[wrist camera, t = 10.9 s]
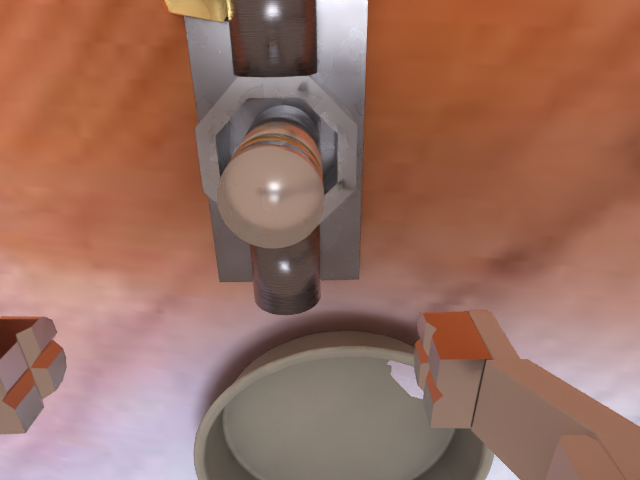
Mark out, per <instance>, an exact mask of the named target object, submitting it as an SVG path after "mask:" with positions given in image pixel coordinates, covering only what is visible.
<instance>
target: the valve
mask: <svg viewBox="0 0 640 480" xmlns="http://www.w3.org/2000/svg"><path fill="white" fill-rule="evenodd" d="M324 201H325V199H324V186H323V174H322V161H321V149H320V137H319V132H318V129H317V127H316V125H315V123H314V122H313V120H312V119H311V118H310V117H309V116H308V115H307V114H306V113H305V112H303V111H302V110H300V109H298V108H295V107H292V106H287V105H279V106H274V107H271V108H268V109H266V110H265V111H263V112H262V113H260V114H259V115H258V116H257V118H256V119H255V120H254V122H253V123H252V125H251V127H250V128H249V130H248V132H247V133H246V135H245V137H244V138H243V140H242V142H241V143H240V145H239V147H238V148H237V150H236V152H235V153H234V155H233V157H232V158H231V160H230V162H229V163H228V165H227V167H226V168H225V170H224V172H223V174H222V175H221V178H220V180H219V183H218V187H217V204H218V209H219V212H220V215H221V217H222V219H223V221H224V222H225V224H226V225H227V227H228V228H229V229H230V230H231V231H232V232H233V233H234V234H235V235H236V236H238V237H239V238H240V239H242V240H244V241H245V242H247V243H250V244H252V245H255V246H258V247H263V248H283V247H288V246H291V245H294V244H296V243H298V242H300V241H301V240H303V239H305V238H306V237H307V236H308V235H310V233H311V232H312V231H313V230H314V229H315V228H316V226H317V225H318V223H319V221H320V219H321V217H322V214H323V210H324Z"/></svg>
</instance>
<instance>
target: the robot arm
mask: <svg viewBox="0 0 640 480" xmlns="http://www.w3.org/2000/svg"><path fill="white" fill-rule="evenodd" d="M417 330H418V333H419V337H420V339H419V340H418V341H417V342H416V343H415V348H414V369H415V375H416V380H417V383H418V386H419V387H420V388H421V389H422V390H424V396H423V405H424V408H425V412H426V415H427V418H428V422H429V425H430V428H472V430H471V431H472V432H473V433H474V434H475V435H476V436H477V437H478V438H479V439H480V440H481V441H482V442H483V443H484V444H485V445H486V446H487V447H488V448H489V449H490V450H491V451H492V452H493V453H494V454H495V455H496V456H497V457H498V458H499V459H500V460H501V461H502V462H503V463H504V464H505V465H506V466H507V467H508V468H509V469H510V470H511V471H512V472H513V473H514V474H515V475H516V476H517V477H518V478H519V479H520V480H640V427H639V426H638V425H636V424H634V423H633V422H631V421H629V420H628V419H626V418H624V417H623V416H621V415H619V414H618V413H616V412H614V411H613V410H611V409H609V408H608V407H606V406H604V405H603V404H601V403H599V402H598V401H596V400H594V399H593V398H591V397H589V396H588V395H586V394H584V393H583V392H581V391H579V390H578V389H576V388H574V387H573V386H571V385H569V384H568V383H566V382H564V381H563V380H561V379H560V378H558V377H556V376H555V375H553V374H551V373H550V372H548V371H546V370H545V369H543V368H541V367H540V366H538V365H536V364H535V363H533V362H531V361H530V360H528V359H520V358H519V356H518V354H517V353H516V351H515V349H514V348H513V346H512V345H511V343H510V341H509V340H508V338H507V337H506V335H505V333H504V332H503V330H502V329H501V327H500V325H499V324H498V322H497V321H496V319H495V317H494V316H493V314H492V313H491V312H490V311H488V310H474V311H465V312H421V313H419V316H418V321H417ZM56 334H57V330H56V328H55V325H54V323H53V321H52V320H51V319H49V318H47V317H6V316H2V317H0V434H20V433H26V432H27V430H28V429H29V428H30V426H31V425H32V423H33V422H34V421H35V419H36V418H37V416H38V415H39V414H40V412H41V411H42V409H43V408H44V404H43V399H44V398H45V397H47V396H48V395H50V394H52V393H53V392H55V391H56V390H57V388H58V387H59V385H60V384H61V382H62V381H63V377H64V374H65V370H66V356H65V353H64V350H63V348H62V347H61V346H60V345H58V344H57V343H56V342H55V341H54V340H53V339H54V338H55V336H56Z"/></svg>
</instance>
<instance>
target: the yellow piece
mask: <svg viewBox="0 0 640 480" xmlns="http://www.w3.org/2000/svg"><path fill="white" fill-rule="evenodd" d="M160 1H161V3H162V5H163V7H164V10H165V12H166V13H170V14H175V15H180V16H185V17H191V18H196V19H201V20H206V21H211V22H223V21H224V20H225V18H226V16H227V15H228V9H227V0H160Z"/></svg>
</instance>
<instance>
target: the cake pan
mask: <svg viewBox="0 0 640 480" xmlns="http://www.w3.org/2000/svg"><path fill="white" fill-rule="evenodd" d="M414 348H415V347H413V346H412V345H410V344H407V343H405V342H403V341H400V340H398V339H395V338H392V337H389V336H385V335H381V334H376V333H370V332H362V331H329V332H321V333H315V334H310V335H307V336H303V337H299V338H296V339H293V340H290V341H287V342H285V343H283V344H280V345H278V346H276V347H274V348H272V349H270V350H269V351H267V352H265V353H264V354H262V355H261V356H259V357H258V358H256V359H255V360H254V361H253V362H252V363H250V364H249V365H248V366H247V367H246V368H245V369H244V370H243V371H242V372H241V374H240V375H239V376H238V377H237V379H236V380H235V381H234V383H233V384H232V385H231V386H230V387H228V388H227V389H226V390H225V391H224V392H223V393H222V394H221V395H220V396H219V397H218V398H217V399H216V400H215V401H214V403H213V404H212V405H211V406H210V408H209V409H208V411H207V412H206V414H205V415H204V418H203V420H202V422H201V424H200V426H199V428H198V431H197V433H196V437H195V444H194V465H195V470H196V474H197V477H198V480H485V479H486V477H487V475H488V473H489V471H490V468H491V465H492V461H493V457H494V453H493V452H492V451H491V450H490V449H489V448H488V447H487V446H486V445H485V444H484V443H483V442H482V441H481V440H480V439H479V438H478V437H477V436H476V435H475V434H474V433H473V432H472V431H471V430H472V428H430V425H429V422H428V418H427V415H426V412H425V408H424V405H423V399H419V398H415V397H411V396H410V395H409V394H408V393H407V392H406V391H405V390H404V389H403V388H402V387H401V386H400V385H399V384H398V383H397V382H396V381H395V380H394V379H393V378H392V376H391V374H390V373H391V366H390V365H386V364H387V363H388V361H389V360H393V361H397V362H401V363H404V364H408V365H411V366H414Z"/></svg>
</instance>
